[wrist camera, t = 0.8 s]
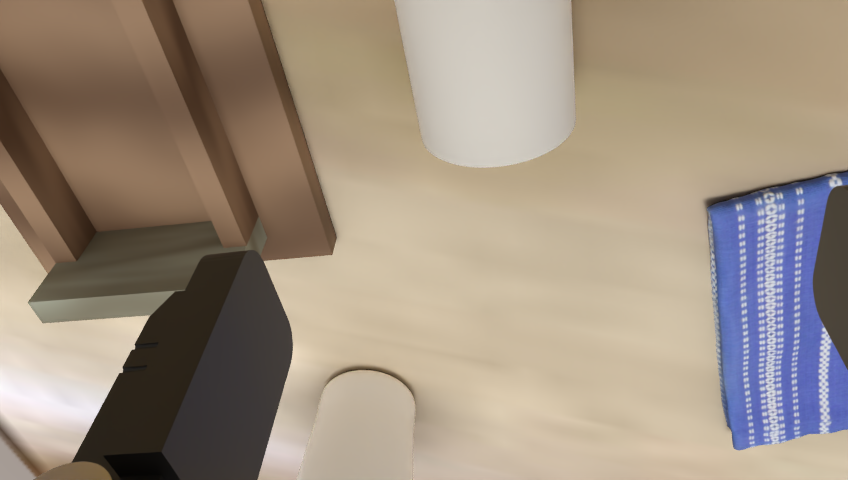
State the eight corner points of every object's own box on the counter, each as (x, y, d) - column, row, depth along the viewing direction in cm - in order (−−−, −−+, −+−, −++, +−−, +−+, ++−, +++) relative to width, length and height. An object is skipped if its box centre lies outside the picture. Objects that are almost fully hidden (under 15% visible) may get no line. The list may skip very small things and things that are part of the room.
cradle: (-221, -174, 23) (-386, -135, 19) (177, -260, 21) (96, -238, 16) (62, 262, 35) (3, 348, 30) (336, 237, 32) (313, 326, 28)
